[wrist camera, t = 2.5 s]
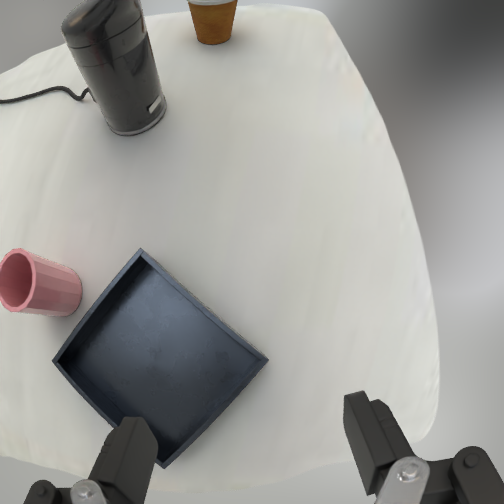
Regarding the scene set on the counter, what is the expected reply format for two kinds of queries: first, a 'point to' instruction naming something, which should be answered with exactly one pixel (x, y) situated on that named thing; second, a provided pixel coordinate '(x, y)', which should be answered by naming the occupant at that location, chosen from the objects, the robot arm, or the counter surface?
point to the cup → (38, 285)
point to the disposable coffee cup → (213, 19)
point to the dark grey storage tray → (157, 357)
